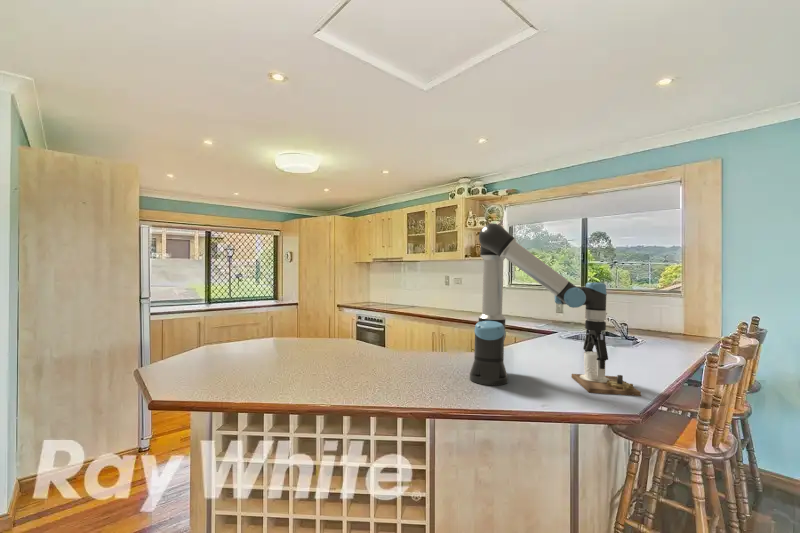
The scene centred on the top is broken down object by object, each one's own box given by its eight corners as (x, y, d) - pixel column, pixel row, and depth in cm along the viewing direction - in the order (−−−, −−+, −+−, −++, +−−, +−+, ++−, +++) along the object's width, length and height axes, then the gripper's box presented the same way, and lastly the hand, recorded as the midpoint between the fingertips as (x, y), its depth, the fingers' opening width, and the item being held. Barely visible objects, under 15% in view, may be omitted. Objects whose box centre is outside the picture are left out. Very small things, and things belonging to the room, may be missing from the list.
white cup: (600, 375, 158) (600, 351, 158) (608, 381, 150) (609, 356, 150) (580, 374, 158) (580, 351, 159) (587, 380, 151) (588, 355, 151)
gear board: (588, 392, 141) (589, 377, 141) (571, 377, 162) (571, 363, 162) (640, 396, 138) (641, 380, 138) (616, 380, 159) (616, 366, 159)
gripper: (618, 324, 142) (617, 381, 141) (594, 317, 166) (593, 365, 166) (597, 323, 143) (596, 380, 142) (576, 316, 167) (575, 364, 167)
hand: (594, 372), depth 154 cm, fingers open, 13 cm apart
